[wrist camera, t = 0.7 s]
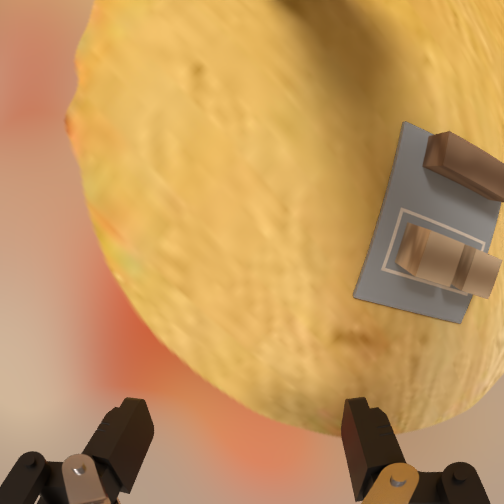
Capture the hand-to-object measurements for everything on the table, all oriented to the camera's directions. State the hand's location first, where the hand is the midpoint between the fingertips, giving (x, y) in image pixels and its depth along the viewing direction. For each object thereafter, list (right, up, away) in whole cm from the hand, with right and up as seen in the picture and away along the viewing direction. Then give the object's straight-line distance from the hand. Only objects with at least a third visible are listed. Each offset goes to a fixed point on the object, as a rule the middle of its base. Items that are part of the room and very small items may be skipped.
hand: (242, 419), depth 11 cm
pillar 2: (+27, +5, +23) cm, 36 cm away
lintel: (+27, +17, +20) cm, 38 cm away
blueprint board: (+24, +9, +23) cm, 35 cm away
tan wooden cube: (+20, +7, +23) cm, 32 cm away
